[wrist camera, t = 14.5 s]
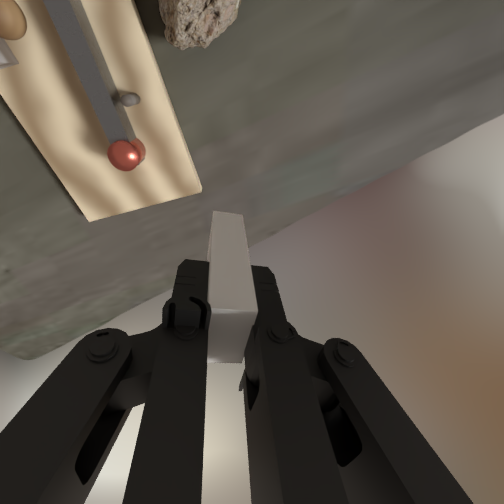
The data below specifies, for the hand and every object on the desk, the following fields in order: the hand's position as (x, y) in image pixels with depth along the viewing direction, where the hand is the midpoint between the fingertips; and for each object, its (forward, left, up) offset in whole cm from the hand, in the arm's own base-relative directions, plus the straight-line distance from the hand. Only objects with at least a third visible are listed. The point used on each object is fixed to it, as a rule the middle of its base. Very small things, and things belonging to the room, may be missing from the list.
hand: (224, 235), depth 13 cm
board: (+15, -8, -29) cm, 34 cm away
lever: (+12, -8, -27) cm, 31 cm away
